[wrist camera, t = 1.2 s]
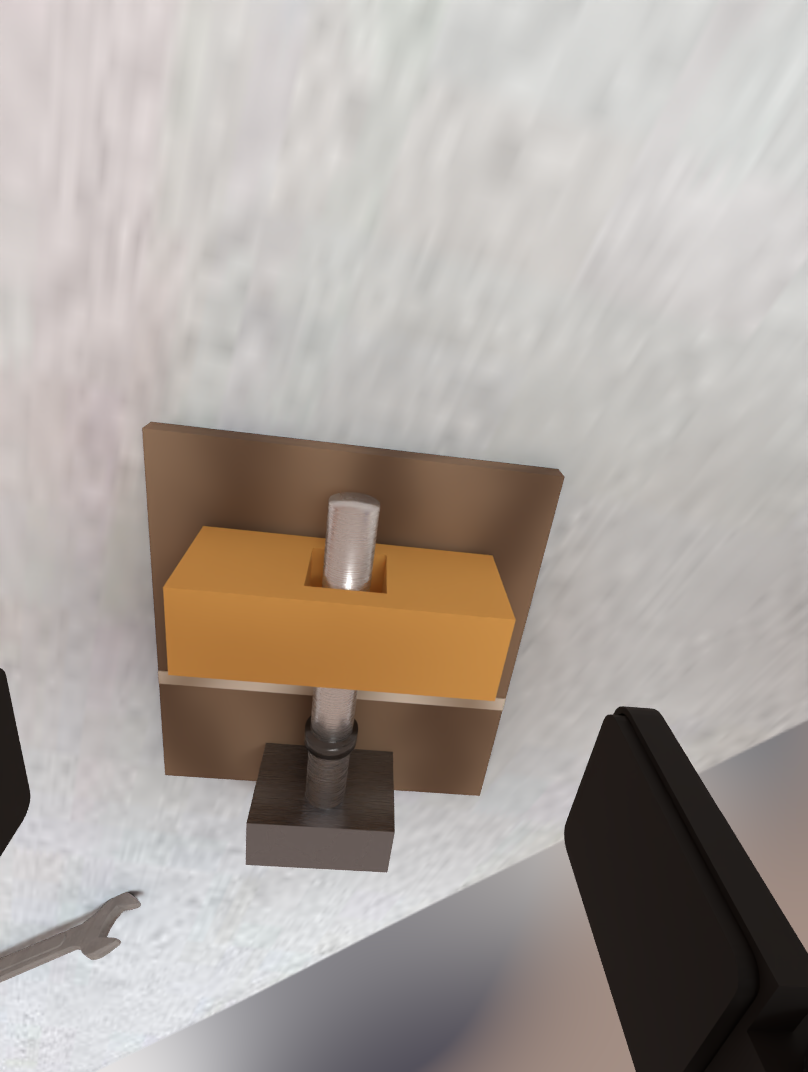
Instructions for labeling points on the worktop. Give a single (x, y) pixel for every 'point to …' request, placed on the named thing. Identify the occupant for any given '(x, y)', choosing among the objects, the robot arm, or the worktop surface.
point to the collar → (336, 617)
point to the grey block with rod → (329, 746)
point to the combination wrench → (72, 940)
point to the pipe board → (301, 509)
